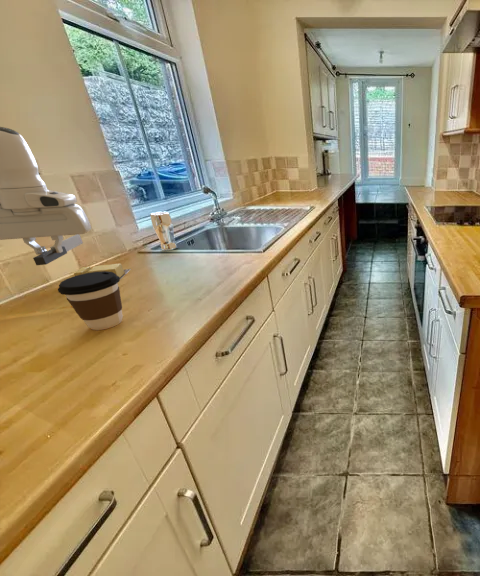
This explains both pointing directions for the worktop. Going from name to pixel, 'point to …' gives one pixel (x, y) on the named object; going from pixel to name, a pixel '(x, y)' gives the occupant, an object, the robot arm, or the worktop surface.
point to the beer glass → (164, 230)
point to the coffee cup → (94, 298)
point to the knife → (51, 256)
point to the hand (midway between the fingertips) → (50, 253)
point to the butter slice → (82, 271)
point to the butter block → (109, 269)
